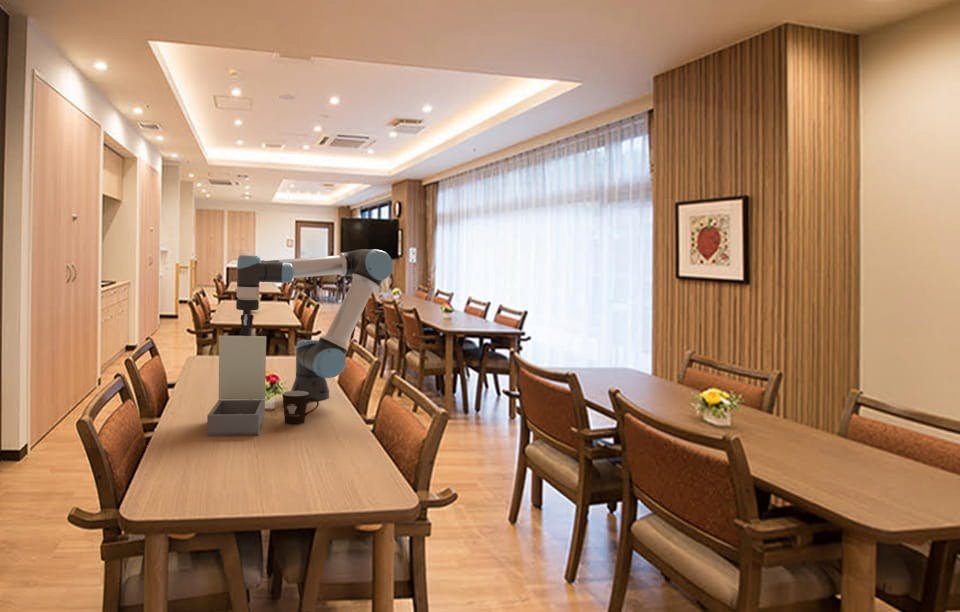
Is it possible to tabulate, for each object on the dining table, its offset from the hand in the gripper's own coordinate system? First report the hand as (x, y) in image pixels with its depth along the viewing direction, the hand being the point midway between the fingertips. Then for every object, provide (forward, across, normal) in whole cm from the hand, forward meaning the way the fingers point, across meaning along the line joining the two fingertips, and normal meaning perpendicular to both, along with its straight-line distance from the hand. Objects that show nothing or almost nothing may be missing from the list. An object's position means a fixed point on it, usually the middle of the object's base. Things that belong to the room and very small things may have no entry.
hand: (245, 364), depth 237 cm
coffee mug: (+17, +18, +19) cm, 31 cm away
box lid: (-1, +12, 0) cm, 12 cm away
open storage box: (+17, +22, 0) cm, 28 cm away
